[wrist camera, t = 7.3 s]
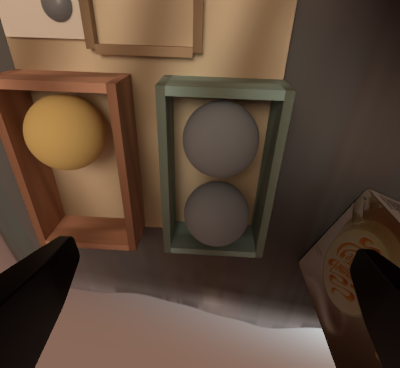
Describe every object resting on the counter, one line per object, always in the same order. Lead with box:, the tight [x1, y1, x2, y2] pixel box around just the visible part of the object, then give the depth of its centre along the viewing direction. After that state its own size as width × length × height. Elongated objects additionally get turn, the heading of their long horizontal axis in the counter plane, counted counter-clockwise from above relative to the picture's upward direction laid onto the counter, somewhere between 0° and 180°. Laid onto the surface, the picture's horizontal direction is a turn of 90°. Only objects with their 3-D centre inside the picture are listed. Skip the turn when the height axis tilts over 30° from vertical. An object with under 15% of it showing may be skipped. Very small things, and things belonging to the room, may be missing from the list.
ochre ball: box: [23, 93, 107, 170], centre depth 16 cm, size 4×4×4 cm
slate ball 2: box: [184, 181, 249, 247], centre depth 19 cm, size 4×4×4 cm
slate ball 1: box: [183, 100, 259, 178], centre depth 16 cm, size 4×4×4 cm
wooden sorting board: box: [0, 0, 297, 258], centre depth 16 cm, size 16×20×4 cm
